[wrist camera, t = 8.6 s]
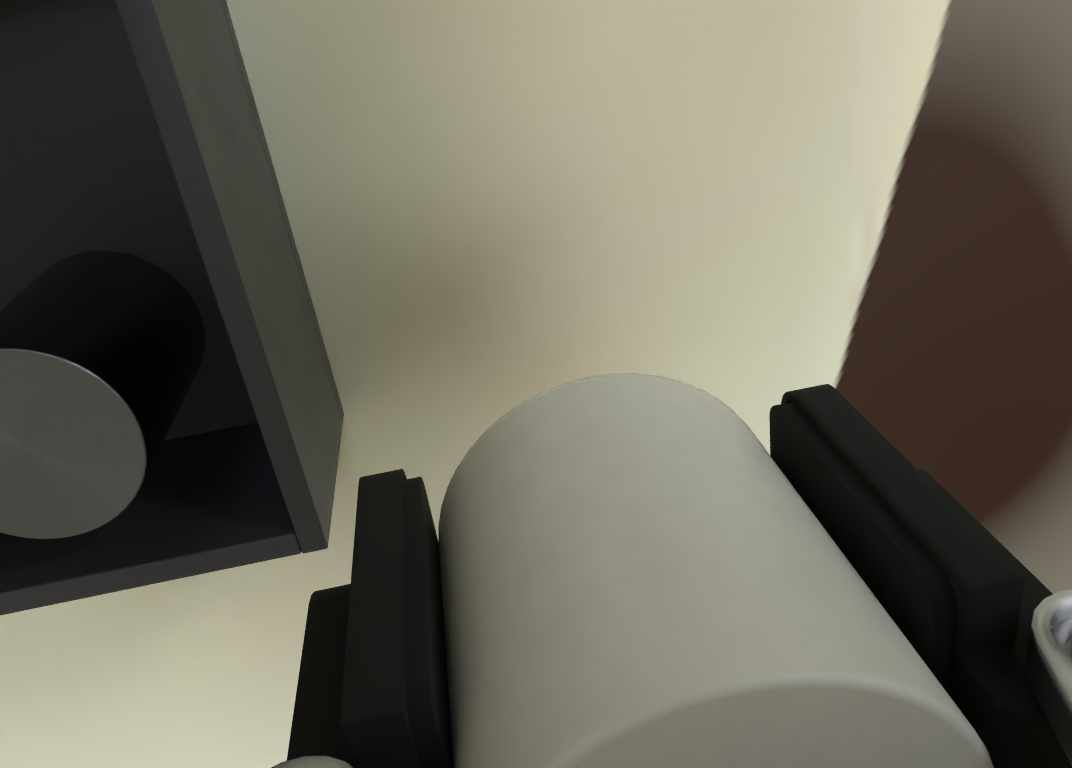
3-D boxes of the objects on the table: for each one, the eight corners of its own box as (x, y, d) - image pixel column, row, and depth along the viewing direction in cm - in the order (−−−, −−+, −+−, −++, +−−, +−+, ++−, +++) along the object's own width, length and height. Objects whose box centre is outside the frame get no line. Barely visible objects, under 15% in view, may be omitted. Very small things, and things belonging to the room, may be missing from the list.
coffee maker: (344, 414, 34) (328, 548, 27) (-6, 482, 34) (-128, 642, 26) (201, -87, 26) (117, -105, 18) (-263, -12, 26) (-555, 2, 18)
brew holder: (46, 220, 30) (-84, 318, 22) (226, 274, 31) (166, 384, 23) (20, 372, 32) (-107, 512, 24) (189, 415, 33) (124, 559, 25)
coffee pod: (510, 325, 10) (601, 622, 5) (828, 425, 11) (1112, 734, 7) (393, 617, 12) (388, 1032, 7) (682, 676, 13) (834, 1061, 8)
